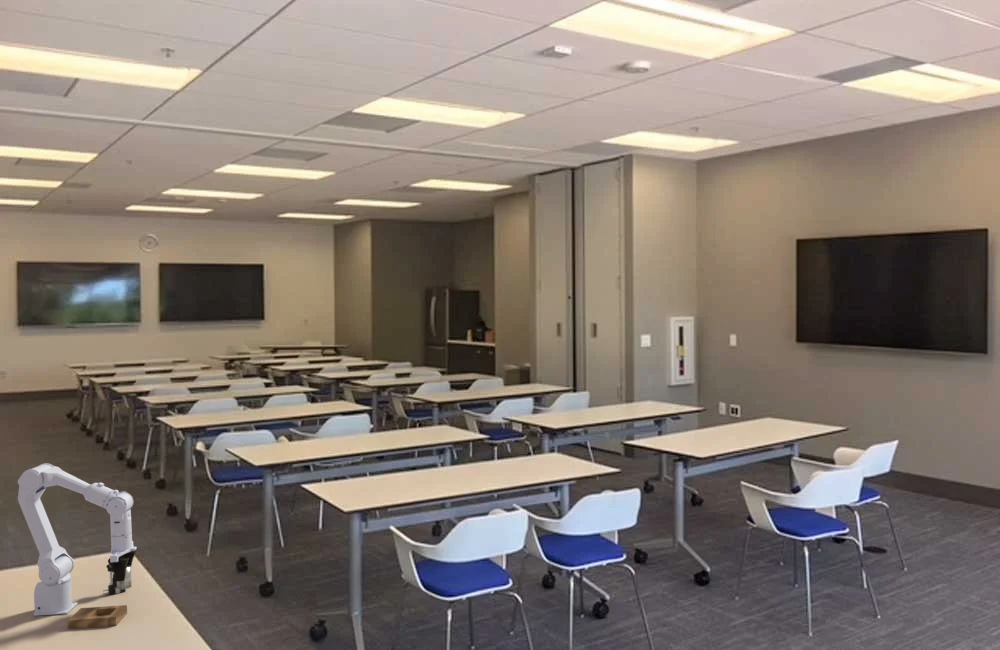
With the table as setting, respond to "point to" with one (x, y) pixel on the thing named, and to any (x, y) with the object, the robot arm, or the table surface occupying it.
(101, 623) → the jig
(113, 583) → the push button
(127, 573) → the brushed metal cylinder
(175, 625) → the table surface
